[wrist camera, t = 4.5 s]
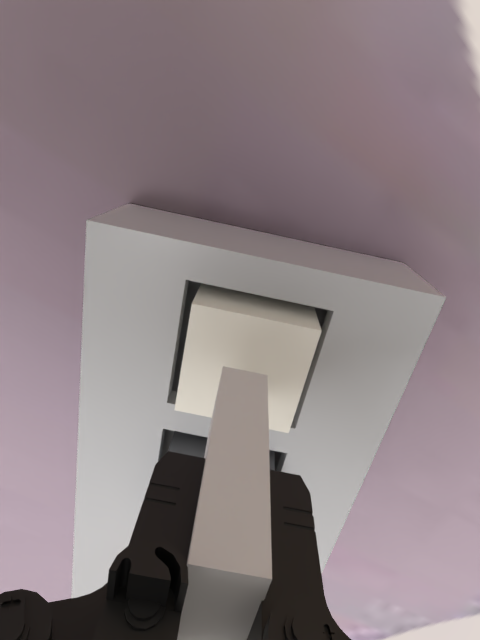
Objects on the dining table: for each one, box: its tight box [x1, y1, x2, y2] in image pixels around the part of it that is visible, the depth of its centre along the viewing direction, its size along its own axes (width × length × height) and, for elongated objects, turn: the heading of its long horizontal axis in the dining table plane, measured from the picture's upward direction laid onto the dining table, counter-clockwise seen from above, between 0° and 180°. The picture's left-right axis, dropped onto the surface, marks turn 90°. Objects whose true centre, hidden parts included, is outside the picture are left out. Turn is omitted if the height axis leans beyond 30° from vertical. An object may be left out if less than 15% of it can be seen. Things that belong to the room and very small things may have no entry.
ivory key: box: [174, 283, 322, 433], centre depth 17 cm, size 5×5×3 cm
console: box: [71, 203, 446, 598], centre depth 22 cm, size 24×14×5 cm, turn 168°
